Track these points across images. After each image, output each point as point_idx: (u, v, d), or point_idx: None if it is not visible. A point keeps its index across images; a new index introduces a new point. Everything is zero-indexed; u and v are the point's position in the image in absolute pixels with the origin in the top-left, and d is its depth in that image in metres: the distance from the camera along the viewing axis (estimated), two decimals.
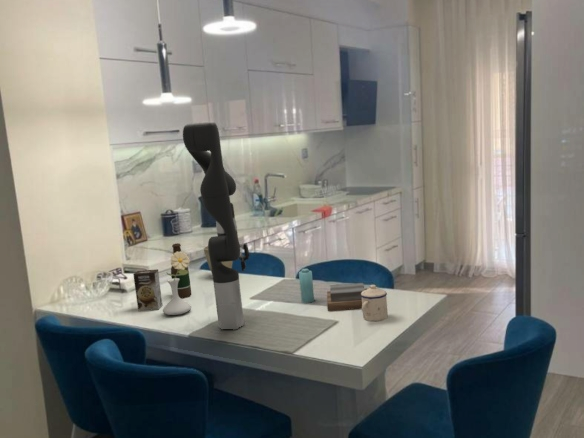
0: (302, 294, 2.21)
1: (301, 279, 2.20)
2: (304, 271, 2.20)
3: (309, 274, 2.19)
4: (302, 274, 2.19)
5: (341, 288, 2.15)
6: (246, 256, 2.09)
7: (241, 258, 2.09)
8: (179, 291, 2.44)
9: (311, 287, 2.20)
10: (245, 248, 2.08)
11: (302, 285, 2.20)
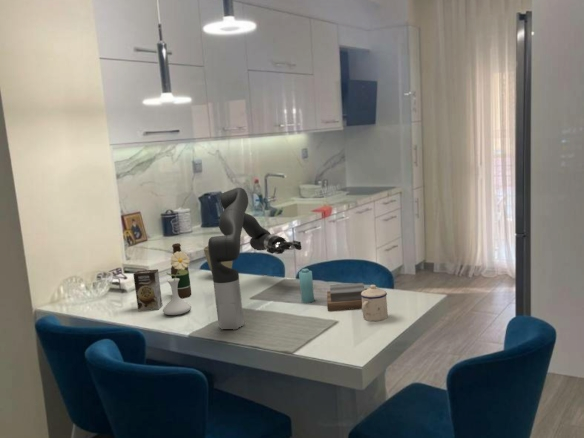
0: (302, 294, 2.21)
1: (301, 279, 2.20)
2: (304, 271, 2.20)
3: (309, 274, 2.19)
4: (302, 274, 2.19)
5: (341, 288, 2.15)
6: (298, 242, 2.38)
7: (294, 243, 2.36)
8: (179, 291, 2.44)
9: (311, 287, 2.20)
10: (295, 241, 2.40)
11: (302, 285, 2.20)
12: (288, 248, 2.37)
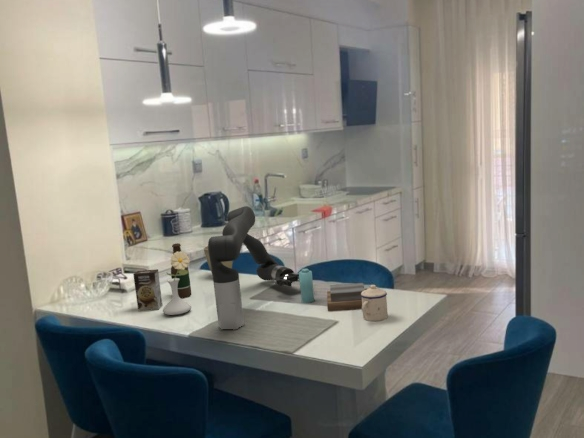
0: (302, 294, 2.21)
1: (301, 279, 2.20)
2: (304, 271, 2.20)
3: (309, 274, 2.19)
4: (302, 274, 2.19)
5: (341, 288, 2.15)
6: None
7: None
8: (179, 291, 2.44)
9: (311, 287, 2.20)
10: None
11: (302, 285, 2.20)
12: (296, 280, 2.33)
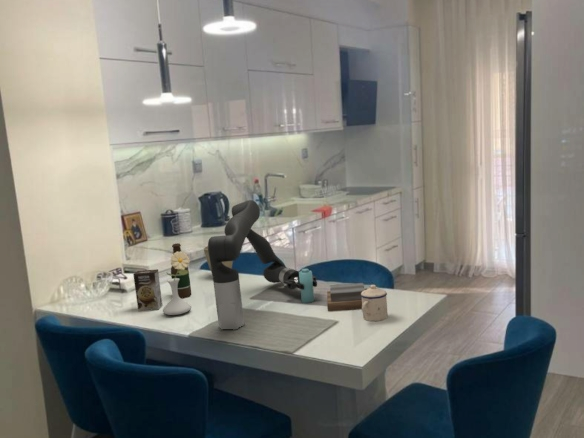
0: (302, 294, 2.21)
1: (301, 279, 2.20)
2: (304, 271, 2.20)
3: (309, 274, 2.19)
4: (302, 274, 2.19)
5: (341, 288, 2.15)
6: (313, 277, 2.27)
7: None
8: (179, 291, 2.44)
9: (311, 287, 2.20)
10: (312, 275, 2.30)
11: None
12: None
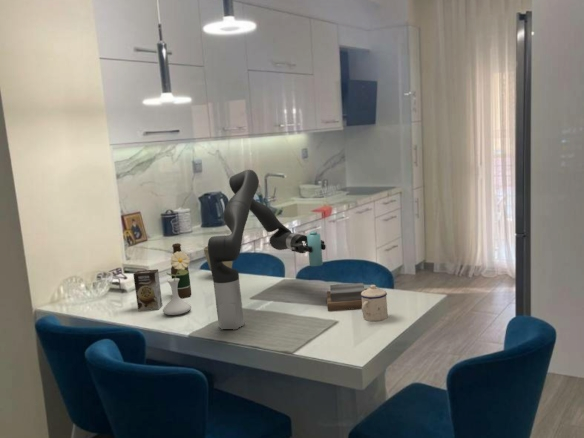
0: (310, 257, 2.16)
1: (309, 242, 2.15)
2: (312, 233, 2.15)
3: (318, 236, 2.15)
4: (310, 236, 2.15)
5: (341, 288, 2.15)
6: (322, 241, 2.22)
7: None
8: (179, 291, 2.44)
9: (319, 250, 2.16)
10: None
11: None
12: None
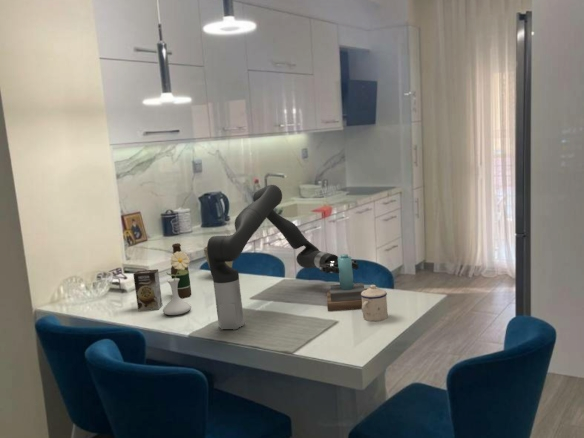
0: (341, 281, 2.12)
1: (340, 265, 2.11)
2: (343, 257, 2.11)
3: (349, 260, 2.10)
4: (341, 260, 2.10)
5: None
6: (353, 260, 2.19)
7: None
8: (179, 291, 2.44)
9: (351, 273, 2.11)
10: None
11: (341, 271, 2.11)
12: None
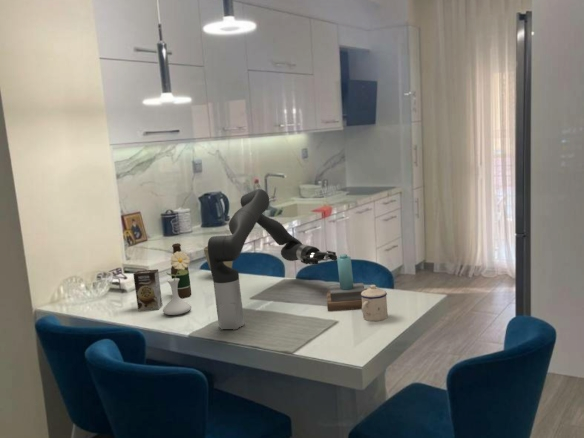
0: (341, 281, 2.12)
1: (339, 265, 2.11)
2: (343, 257, 2.11)
3: (348, 260, 2.10)
4: (341, 260, 2.10)
5: None
6: (333, 252, 2.30)
7: (329, 253, 2.29)
8: (179, 291, 2.44)
9: (350, 273, 2.11)
10: (329, 251, 2.33)
11: (341, 272, 2.11)
12: (323, 259, 2.29)
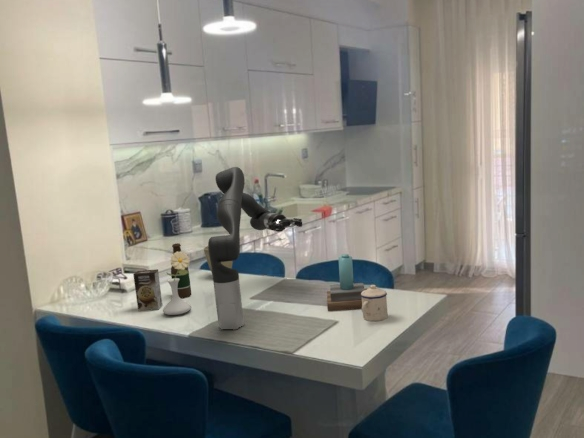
0: (342, 280, 2.12)
1: (341, 265, 2.11)
2: (345, 256, 2.11)
3: (350, 260, 2.10)
4: (343, 259, 2.10)
5: None
6: (299, 219, 2.33)
7: (295, 220, 2.31)
8: (179, 291, 2.44)
9: (351, 273, 2.11)
10: (295, 218, 2.35)
11: (342, 271, 2.11)
12: (289, 225, 2.32)
